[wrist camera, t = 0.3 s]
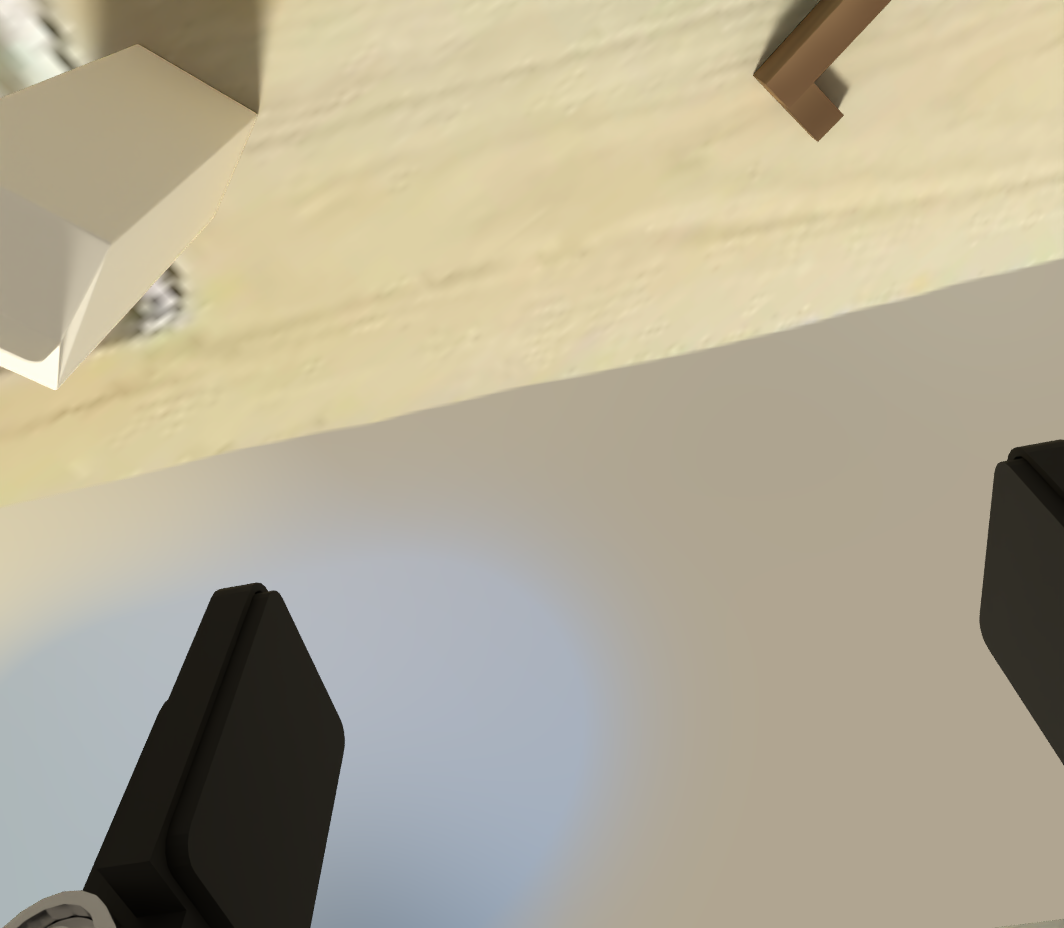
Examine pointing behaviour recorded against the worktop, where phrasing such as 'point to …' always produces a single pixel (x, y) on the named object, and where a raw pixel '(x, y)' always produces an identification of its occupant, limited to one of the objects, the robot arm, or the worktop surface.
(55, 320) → the milk
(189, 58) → the worktop surface
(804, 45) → the wooden brackets
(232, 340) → the worktop surface
